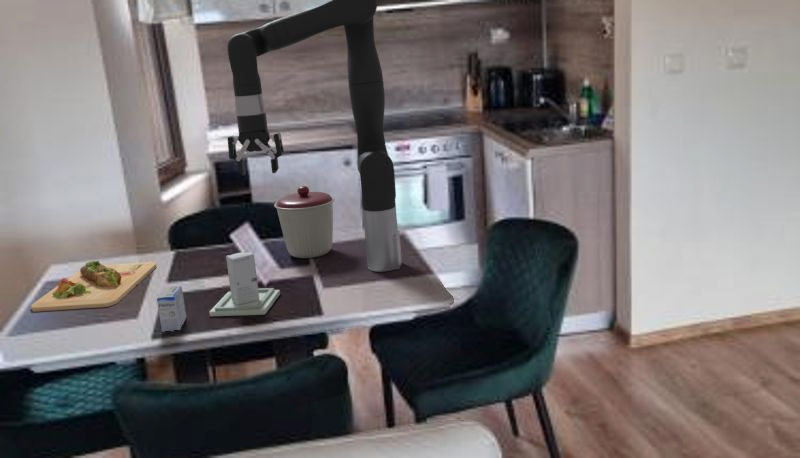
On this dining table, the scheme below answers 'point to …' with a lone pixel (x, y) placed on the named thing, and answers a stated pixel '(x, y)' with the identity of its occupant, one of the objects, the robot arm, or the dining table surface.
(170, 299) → the medicine box
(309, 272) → the dining table surface
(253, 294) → the skincare box
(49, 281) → the dining table surface
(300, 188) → the canister
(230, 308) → the light green square tray
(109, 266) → the cutting board
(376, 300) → the dining table surface
